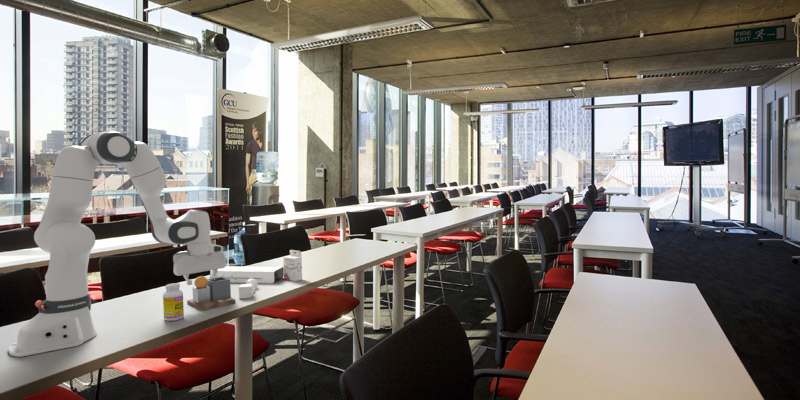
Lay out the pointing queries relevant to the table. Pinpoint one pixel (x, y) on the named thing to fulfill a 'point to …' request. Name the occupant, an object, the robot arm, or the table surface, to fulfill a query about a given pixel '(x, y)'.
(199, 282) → the ball
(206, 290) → the light grey square container
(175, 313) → the supplement bottle
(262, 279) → the laminator
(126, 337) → the table surface
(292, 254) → the ink cartridge box
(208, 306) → the brown wooden tray
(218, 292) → the dark grey square container
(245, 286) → the white dumbbell
